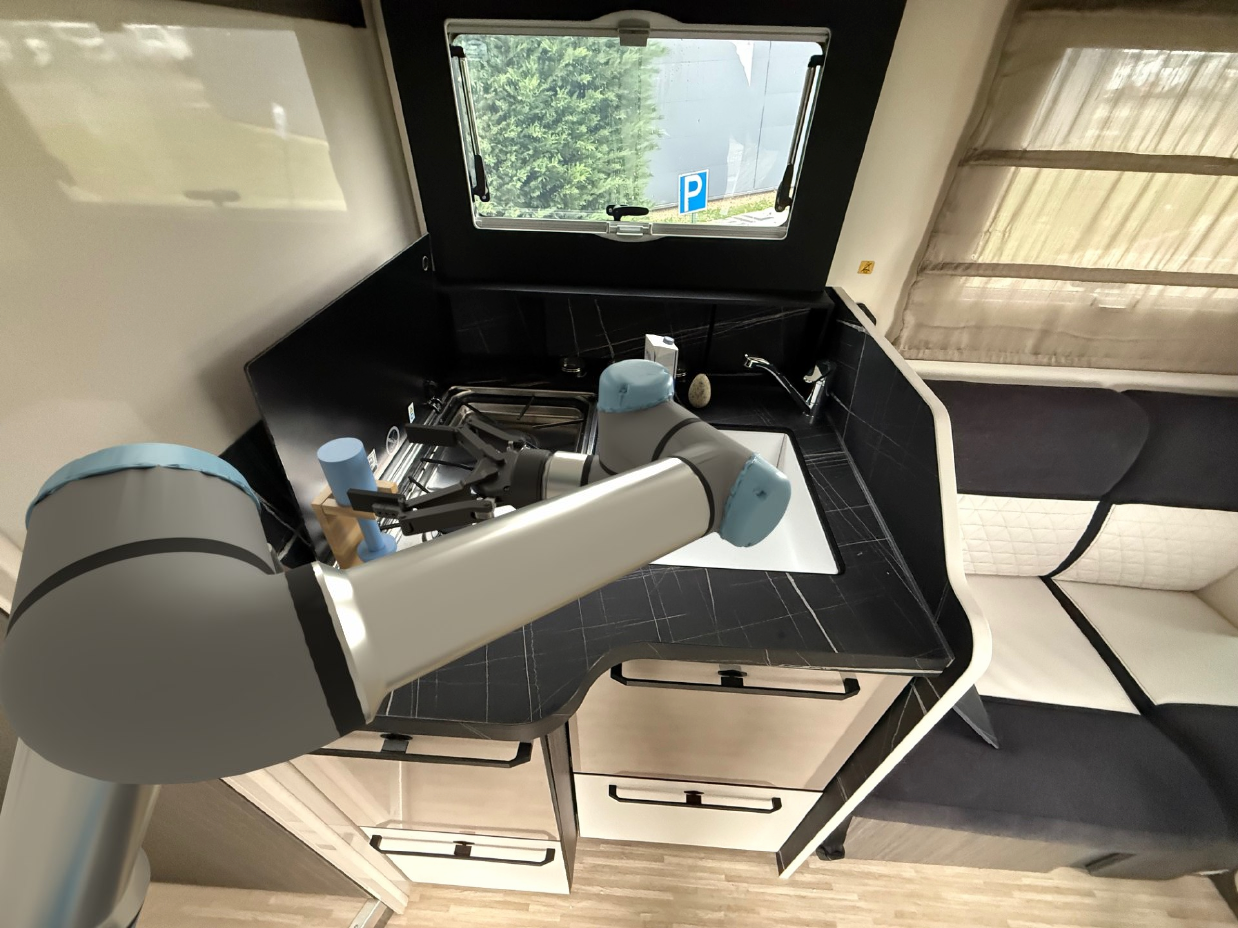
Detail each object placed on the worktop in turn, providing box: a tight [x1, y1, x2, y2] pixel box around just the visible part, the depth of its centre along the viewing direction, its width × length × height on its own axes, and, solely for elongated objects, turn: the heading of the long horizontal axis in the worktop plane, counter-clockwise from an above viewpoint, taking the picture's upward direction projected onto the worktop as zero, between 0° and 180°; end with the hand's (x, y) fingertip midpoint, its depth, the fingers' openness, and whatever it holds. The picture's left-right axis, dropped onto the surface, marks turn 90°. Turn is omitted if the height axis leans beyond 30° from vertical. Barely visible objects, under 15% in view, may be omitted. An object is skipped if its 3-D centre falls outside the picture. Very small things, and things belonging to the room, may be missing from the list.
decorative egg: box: [688, 373, 712, 409], centre depth 142 cm, size 6×6×10 cm
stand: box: [310, 479, 399, 569], centre depth 77 cm, size 10×9×30 cm
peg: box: [316, 437, 398, 563], centre depth 69 cm, size 5×5×18 cm
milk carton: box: [644, 334, 679, 399], centre depth 139 cm, size 7×7×20 cm
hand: (381, 463), depth 64 cm, fingers open, 13 cm apart
